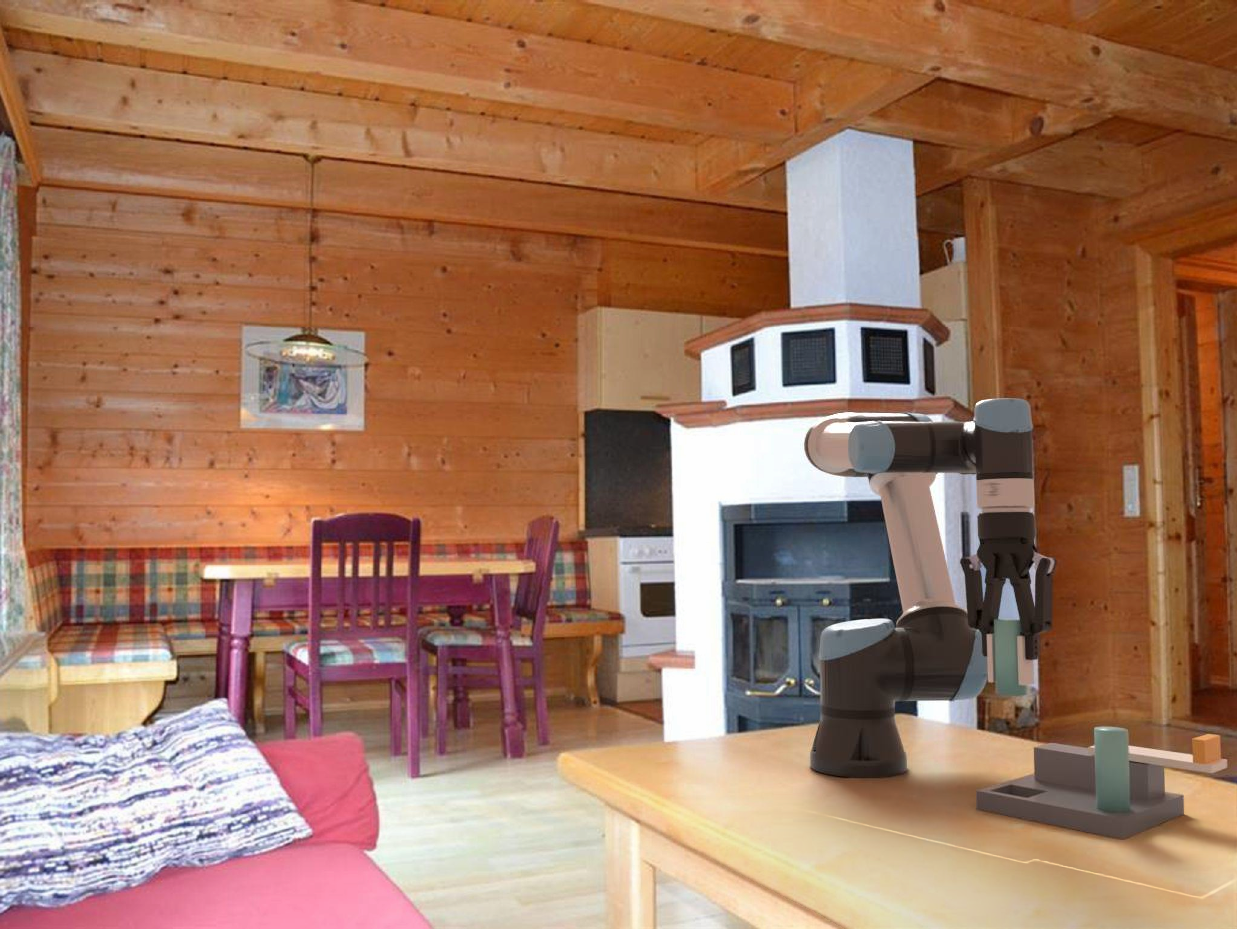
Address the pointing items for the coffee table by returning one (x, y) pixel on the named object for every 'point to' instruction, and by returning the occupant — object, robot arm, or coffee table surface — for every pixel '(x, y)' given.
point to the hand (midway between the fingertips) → (1010, 682)
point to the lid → (1182, 755)
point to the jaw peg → (1007, 657)
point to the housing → (1088, 789)
